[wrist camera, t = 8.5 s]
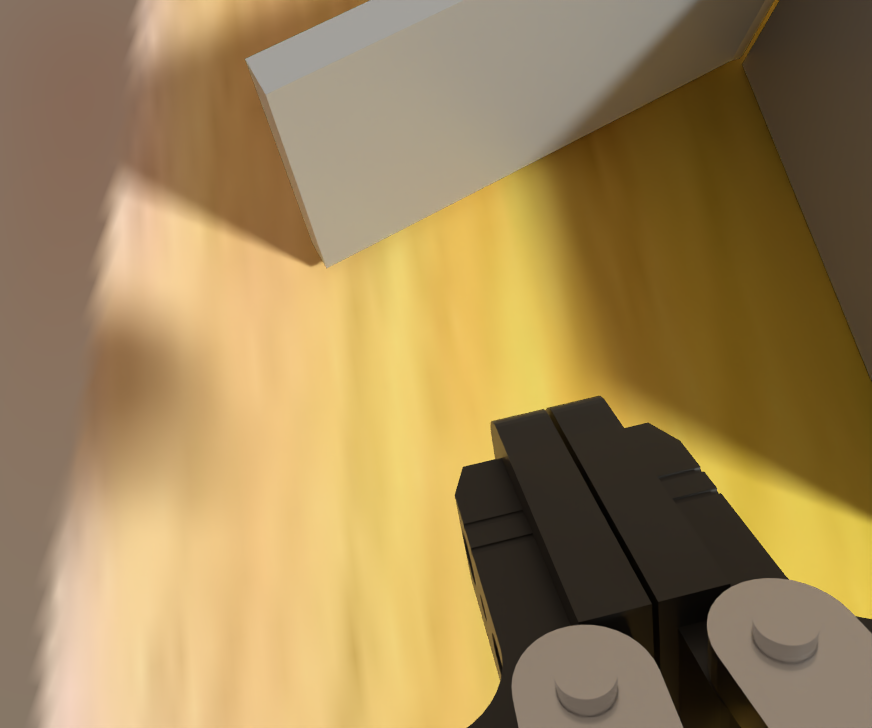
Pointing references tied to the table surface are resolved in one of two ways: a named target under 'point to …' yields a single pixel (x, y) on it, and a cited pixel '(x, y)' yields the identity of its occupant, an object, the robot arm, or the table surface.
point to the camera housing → (825, 135)
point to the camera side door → (467, 95)
